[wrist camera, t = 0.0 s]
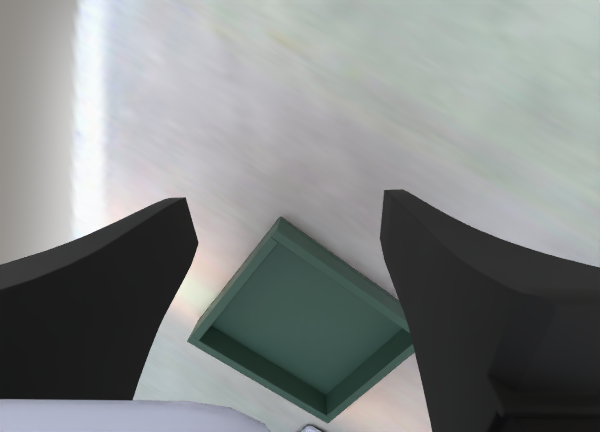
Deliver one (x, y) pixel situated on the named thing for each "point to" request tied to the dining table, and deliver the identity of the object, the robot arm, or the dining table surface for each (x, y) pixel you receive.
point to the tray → (305, 324)
